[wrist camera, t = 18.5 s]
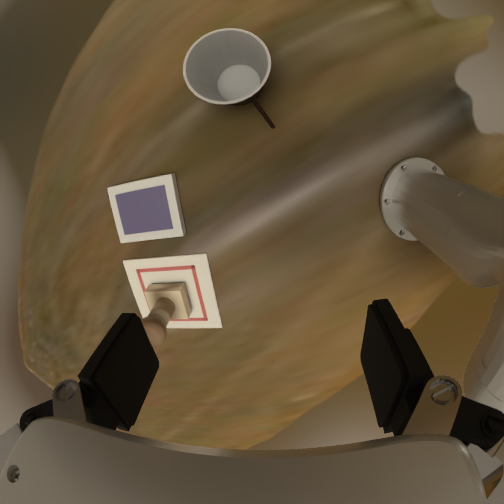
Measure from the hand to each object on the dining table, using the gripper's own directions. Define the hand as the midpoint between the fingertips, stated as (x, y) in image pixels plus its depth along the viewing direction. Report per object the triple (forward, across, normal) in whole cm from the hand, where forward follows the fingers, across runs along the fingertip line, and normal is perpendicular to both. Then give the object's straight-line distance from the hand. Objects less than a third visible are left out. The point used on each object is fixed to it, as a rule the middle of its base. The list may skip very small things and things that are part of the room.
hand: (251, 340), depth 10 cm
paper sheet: (+28, +18, +15) cm, 36 cm away
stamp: (+28, +18, +15) cm, 36 cm away
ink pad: (+28, +18, 0) cm, 34 cm away
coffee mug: (+28, +2, -14) cm, 32 cm away
